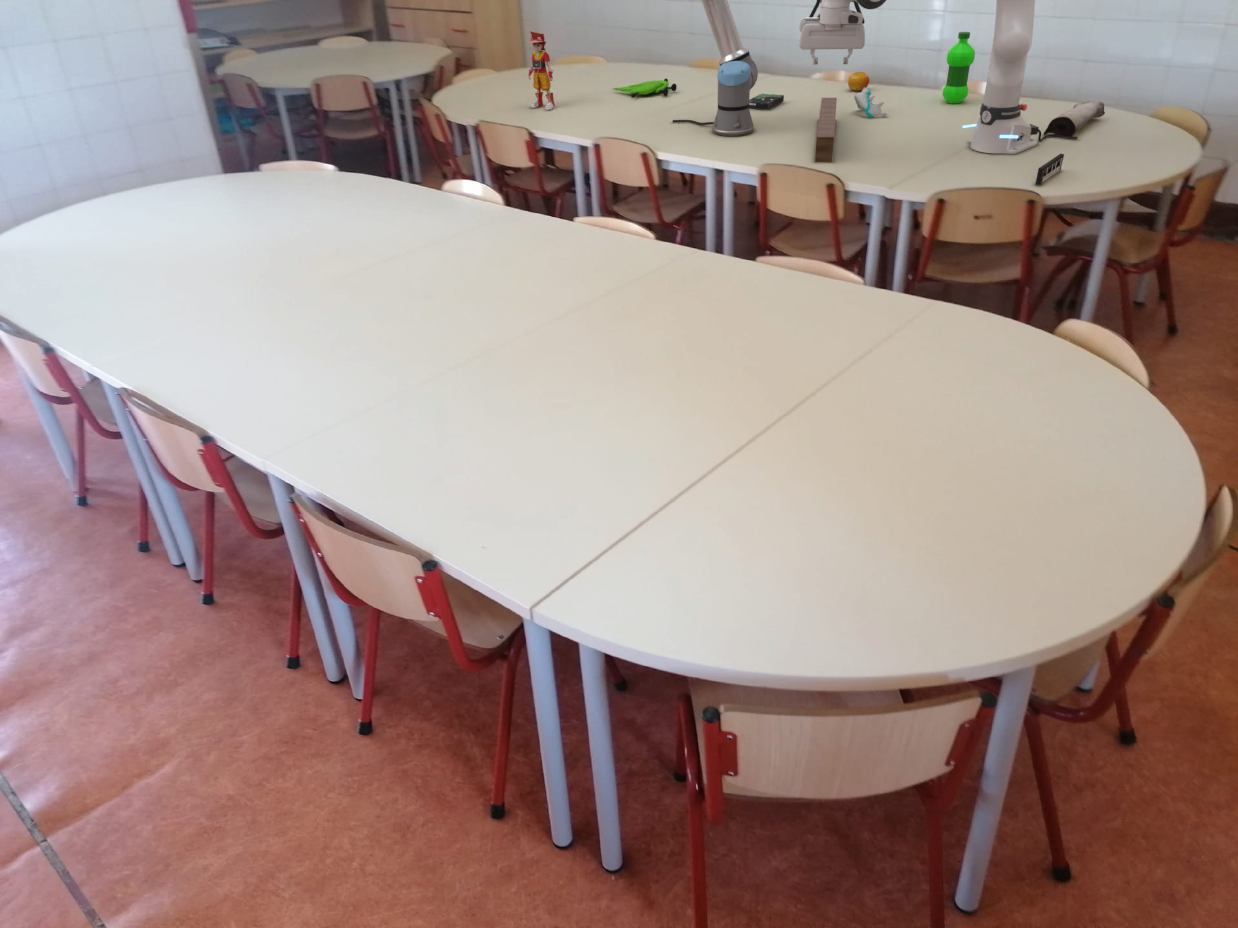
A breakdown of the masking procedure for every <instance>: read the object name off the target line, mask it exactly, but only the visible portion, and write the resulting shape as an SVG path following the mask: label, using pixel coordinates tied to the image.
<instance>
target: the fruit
mask: <svg viewBox="0 0 1238 928" xmlns="http://www.w3.org/2000/svg"><path fill="white" fill-rule="evenodd" d="M869 84H870V77H869V75H868V74H867V73H865V72H863V71H855V72H853V73H851V74H850V76H849V77H848V80H847V86H848V88H849V89H850V90H852V91H855V92H857V91H859V92H862V90H863V88H867V87H868V86H869Z"/></svg>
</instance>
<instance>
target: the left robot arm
mask: <svg viewBox="0 0 1238 928" xmlns="http://www.w3.org/2000/svg"><path fill="white" fill-rule="evenodd" d="M821 2H822V0H816V2H815V4H814V6H813V7H812V10H811V12H810V14H809V16H808V17H815V14H816V13H817V10H818V8H819V6H820V5H821ZM701 3H702V6H703V8H704V11H705V15H706V18H707V21H708V24H709V26H710V29H711V31H712V34H713V37H714V41H715V43H716V46H717V49H718V52H719V54H720V60H719V62H718V65H719V67H718V70H717V111H716V114H715V118H714V120H713V121H707V122H700V121H696V120H694V119H693V120H692V119H672V123H692V124H695V125H699V126H709V125H712V133H713V134H715V135H717V136H721V137H741V136H746V135H750V134H752V133H754V127H755V126H754V122H753V118H752V115H751V111H750V108H749V100H750V94H751V93H750V91H751V90H752V89H753V88H754V86H755V85H756V83H757V80H758V77H759V76H758V75H759V70H758V66H757V64H756V62H755V61H754V60H753V59H752V57H751V54H750V50H749V49H747V48H745V47H744V46H743V43H742V40H741V37H740V35H739V32H738V31H739V30H738V28H737V25H736V23H735V20H734V19H735V18H734V16H733V13H732V11H731V8H730V5H729V2H728V0H701ZM851 3H853V5H854V8H855V11H856V12H859V13H861V14H862V15H863V12H862V10H861V6H860V5H859V3H858V2H856V1H852V2H851ZM849 10H851V9H850V8H849ZM816 17H820V13H819V14H818V15H817V16H816ZM862 23H863V25H864V24H865V18H864V17H863V21H862Z"/></svg>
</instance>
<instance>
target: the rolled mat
mask: <svg viewBox="0 0 1238 928" xmlns="http://www.w3.org/2000/svg"><path fill="white" fill-rule="evenodd" d="M1105 113H1106V112H1105V104H1104V102H1102V101H1096V100H1091V101H1085V102H1079V103H1076V104H1074V105H1073V107H1072V108H1071V109H1069V110H1067V111H1065V112H1063V113H1061V114H1060V115H1058V116H1056V117H1054V118H1053V119H1051V120H1050V122H1049V123H1048V125H1047V127H1046V129H1045V130H1044V132H1043V136H1046V135H1049V134H1056V135H1062V136H1073V137H1074V135H1076V134H1077V132H1078V131H1079V130H1080V129H1081V128H1082V127H1083V126H1084V125H1086V124H1087V123H1088V122H1089V121H1090V120H1091V119H1095V118H1096V119H1097V118H1101V117H1103V116H1104V115H1105Z"/></svg>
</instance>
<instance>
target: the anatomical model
mask: <svg viewBox="0 0 1238 928" xmlns="http://www.w3.org/2000/svg"><path fill="white" fill-rule="evenodd" d="M871 95H872V92H871V90H869V89H868V88H867V87H866V88H863V90H861V91H860V92H858V93H855V94H854V97H853V98H854V101H855V104H856V105H857V108H858V109H860V110H863V111H864V112H865V114H866V116H867V117H868V118H869V119H870V118H875V117H878V116H879V117H880V116H882V117H885V116H887V115H888V111H883V110H882V109H881V108H882V106H883V105H884V104H885V102H884V101H880V102H878V103H873V102H872V101H873V100H874V98H875V96H876V95H872V96H871Z"/></svg>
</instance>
